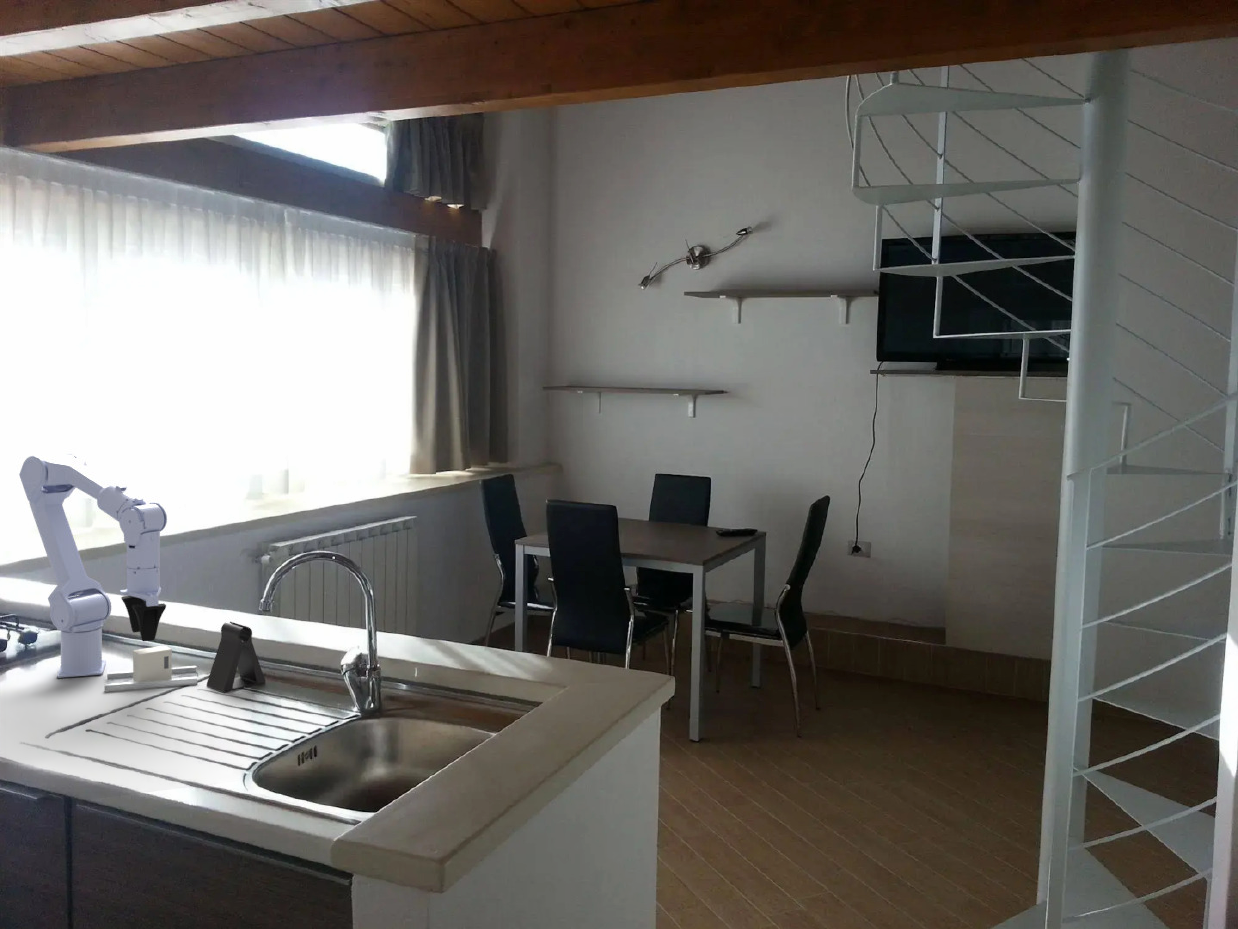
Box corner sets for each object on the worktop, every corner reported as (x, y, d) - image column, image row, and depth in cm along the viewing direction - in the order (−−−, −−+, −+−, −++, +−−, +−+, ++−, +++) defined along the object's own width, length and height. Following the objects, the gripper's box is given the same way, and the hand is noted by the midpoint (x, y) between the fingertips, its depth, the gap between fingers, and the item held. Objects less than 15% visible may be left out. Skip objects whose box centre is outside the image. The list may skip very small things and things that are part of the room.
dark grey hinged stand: (223, 693, 186) (223, 631, 185) (206, 686, 189) (206, 626, 188) (265, 683, 193) (265, 623, 192) (248, 676, 197) (248, 618, 196)
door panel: (133, 680, 190) (133, 650, 190) (165, 675, 195) (165, 645, 194) (139, 684, 188) (139, 654, 188) (171, 679, 192) (171, 649, 192)
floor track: (107, 678, 192) (107, 672, 192) (196, 671, 199) (196, 665, 199) (104, 692, 184) (104, 685, 184) (197, 684, 191) (197, 678, 190)
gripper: (112, 562, 191) (112, 630, 192) (129, 574, 180) (129, 647, 181) (151, 559, 196) (151, 626, 197) (170, 571, 184) (170, 642, 186)
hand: (143, 635), depth 189 cm, fingers open, 7 cm apart
